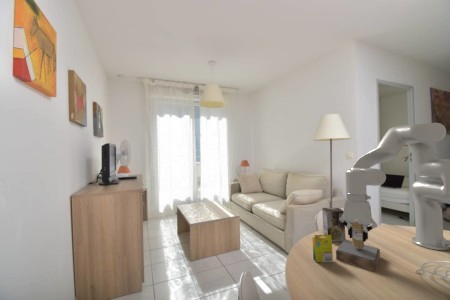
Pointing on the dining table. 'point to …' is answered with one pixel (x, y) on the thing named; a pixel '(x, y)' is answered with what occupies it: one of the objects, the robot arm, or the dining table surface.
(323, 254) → the crayon box
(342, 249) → the walnut plinth
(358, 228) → the spice jar
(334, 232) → the coffee box
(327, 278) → the dining table surface
